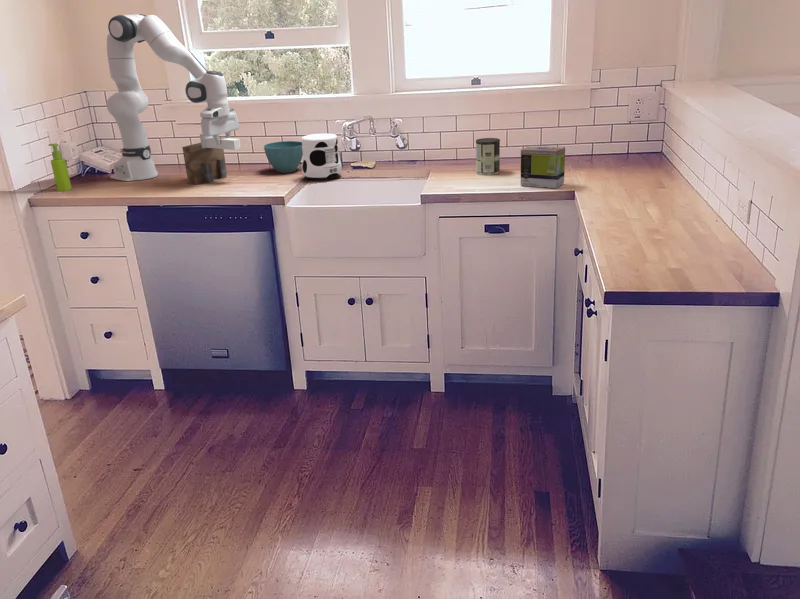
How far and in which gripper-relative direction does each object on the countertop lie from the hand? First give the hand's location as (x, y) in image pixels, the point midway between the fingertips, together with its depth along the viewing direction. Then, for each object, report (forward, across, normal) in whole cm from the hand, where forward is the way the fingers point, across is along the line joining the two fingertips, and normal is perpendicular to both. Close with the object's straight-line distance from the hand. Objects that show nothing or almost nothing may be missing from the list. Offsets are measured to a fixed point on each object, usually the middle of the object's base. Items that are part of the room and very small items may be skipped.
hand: (223, 143), depth 305 cm
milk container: (+16, -18, +39) cm, 46 cm away
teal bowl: (+16, -25, +14) cm, 33 cm away
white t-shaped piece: (+2, 0, 0) cm, 2 cm away
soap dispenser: (+18, +36, -62) cm, 74 cm away
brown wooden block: (+17, 0, -10) cm, 20 cm away
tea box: (+14, -33, +134) cm, 138 cm away
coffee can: (+15, -48, +105) cm, 116 cm away
